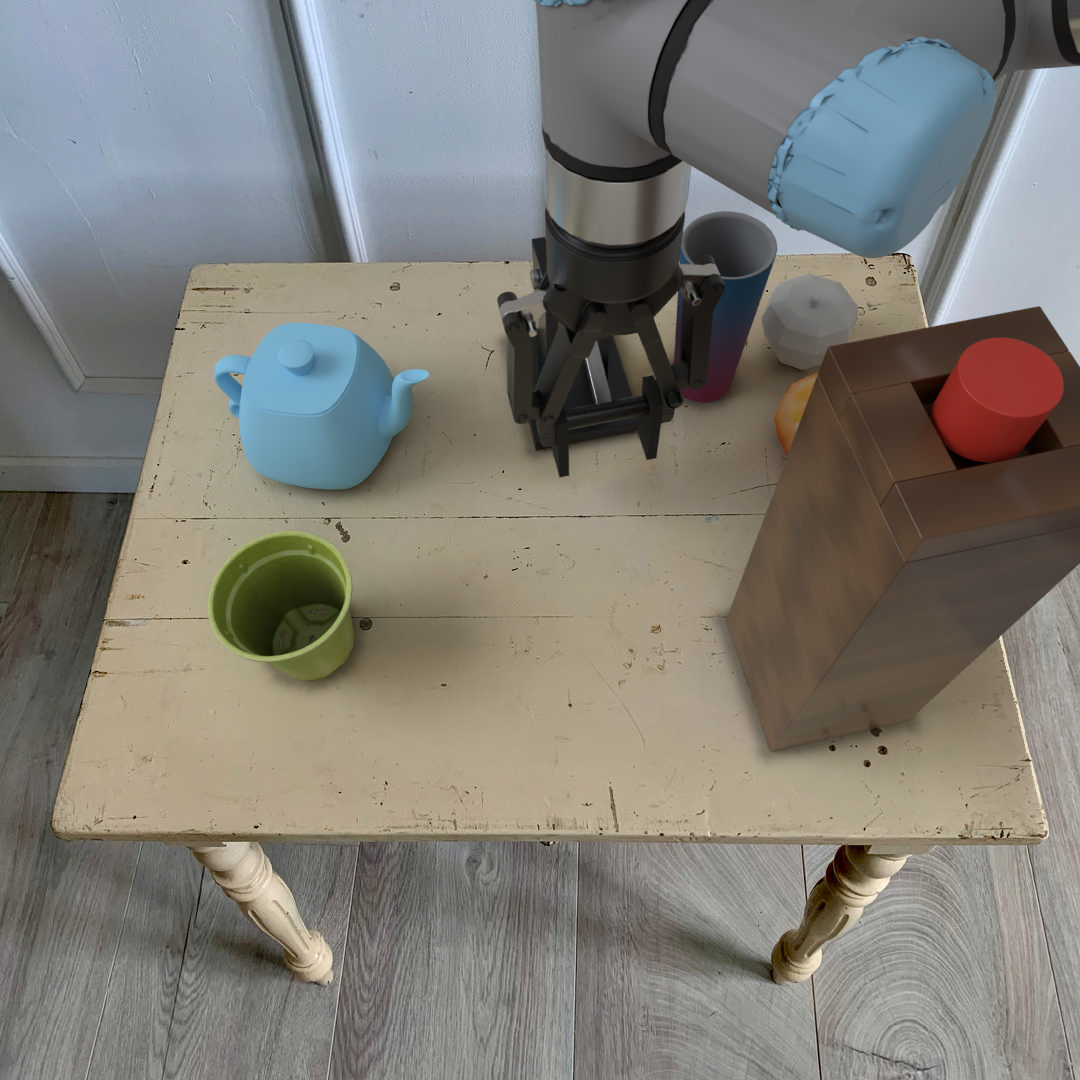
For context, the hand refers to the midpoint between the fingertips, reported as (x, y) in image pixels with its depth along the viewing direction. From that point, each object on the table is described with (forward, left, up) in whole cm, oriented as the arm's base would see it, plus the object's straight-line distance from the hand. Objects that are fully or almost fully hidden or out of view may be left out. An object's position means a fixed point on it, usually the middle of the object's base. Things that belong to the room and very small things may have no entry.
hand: (603, 453), depth 67 cm
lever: (+6, 0, +6) cm, 8 cm away
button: (-18, -11, +25) cm, 33 cm away
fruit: (0, -18, -5) cm, 19 cm away
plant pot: (-8, +24, -5) cm, 26 cm away
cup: (+9, -11, -5) cm, 15 cm away
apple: (+10, -20, -5) cm, 23 cm away
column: (-18, -11, -5) cm, 22 cm away
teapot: (+10, +20, -5) cm, 23 cm away
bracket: (+11, 0, -5) cm, 12 cm away
